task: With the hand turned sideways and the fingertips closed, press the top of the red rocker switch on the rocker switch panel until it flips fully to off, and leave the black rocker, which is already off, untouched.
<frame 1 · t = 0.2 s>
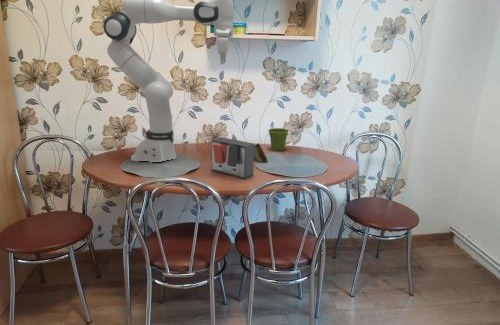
hand: (223, 63, 170), 48 cm above the table, tool pointing down, fingers open, 8 cm apart
rocker black: (233, 155, 155), point 10 cm above the table, hinge at -10.0°
plant pot: (277, 149, 205), on the table
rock: (259, 160, 185), on the table
rocker red: (218, 153, 159), point 10 cm above the table, hinge at 10.0°
rocker switch panel: (232, 173, 164), on the table
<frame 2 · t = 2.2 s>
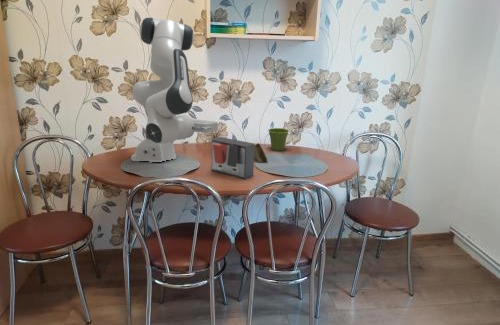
hand: (205, 122, 146), 25 cm above the table, tool horizontal, fingers open, 8 cm apart
nothing on the table moved.
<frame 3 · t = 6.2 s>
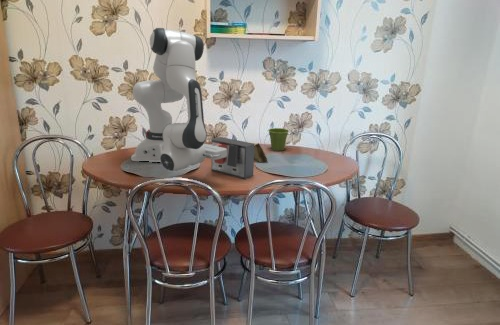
hand: (216, 146, 157), 14 cm above the table, tool horizontal, fingers closed, pressing on rocker red
rocker red: (218, 153, 159), point 10 cm above the table, hinge at 6.6°, touching gripper
everything else where it was.
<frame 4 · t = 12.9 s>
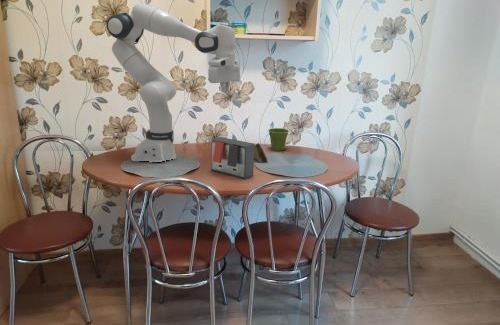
hand: (225, 91, 168), 35 cm above the table, tool pointing down, fingers closed
rocker red: (218, 152, 159), point 10 cm above the table, hinge at -15.1°
everything else where it was.
at the end: rocker red at -15° (first picture: +10°); rocker black at -10° (first picture: -10°) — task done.
